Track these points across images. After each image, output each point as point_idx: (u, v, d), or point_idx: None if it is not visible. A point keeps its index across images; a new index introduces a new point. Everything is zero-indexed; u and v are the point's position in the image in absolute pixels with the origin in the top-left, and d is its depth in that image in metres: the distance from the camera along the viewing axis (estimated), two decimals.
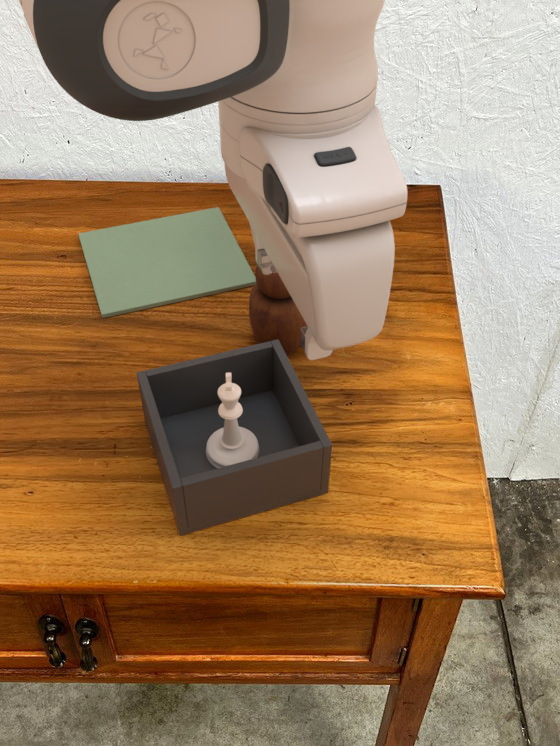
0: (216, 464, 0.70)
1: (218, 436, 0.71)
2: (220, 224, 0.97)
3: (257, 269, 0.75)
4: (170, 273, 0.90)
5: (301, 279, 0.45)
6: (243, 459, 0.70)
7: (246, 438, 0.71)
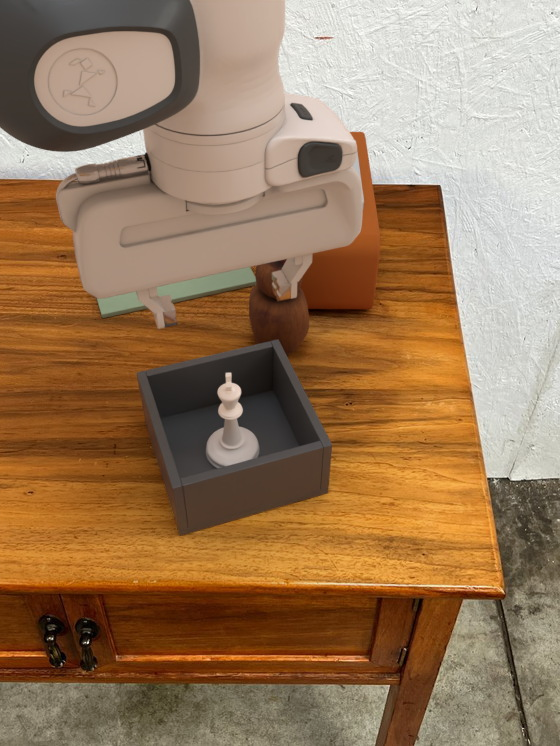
0: (216, 464, 0.70)
1: (218, 436, 0.71)
2: None
3: (257, 269, 0.75)
4: None
5: (313, 221, 0.54)
6: (243, 459, 0.70)
7: (246, 438, 0.71)
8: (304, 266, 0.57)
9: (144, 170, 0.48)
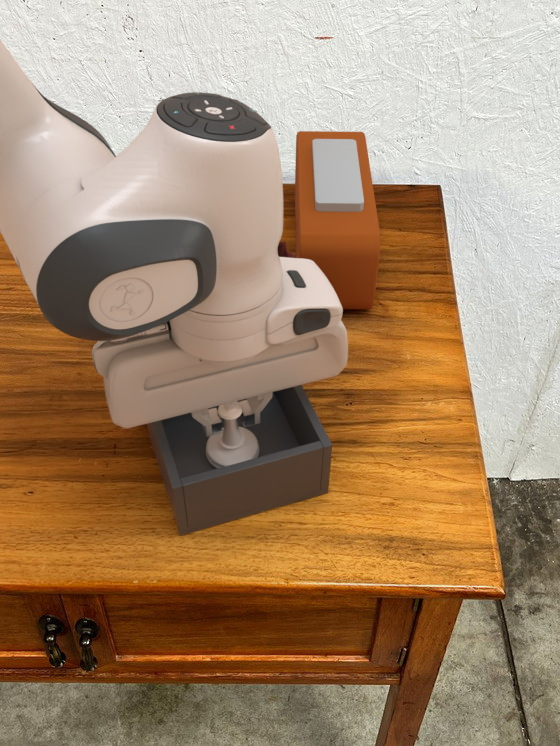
0: (216, 464, 0.70)
1: (218, 436, 0.71)
2: None
3: None
4: None
5: (306, 361, 0.64)
6: (243, 459, 0.70)
7: (246, 438, 0.71)
8: (265, 400, 0.67)
9: (165, 331, 0.58)
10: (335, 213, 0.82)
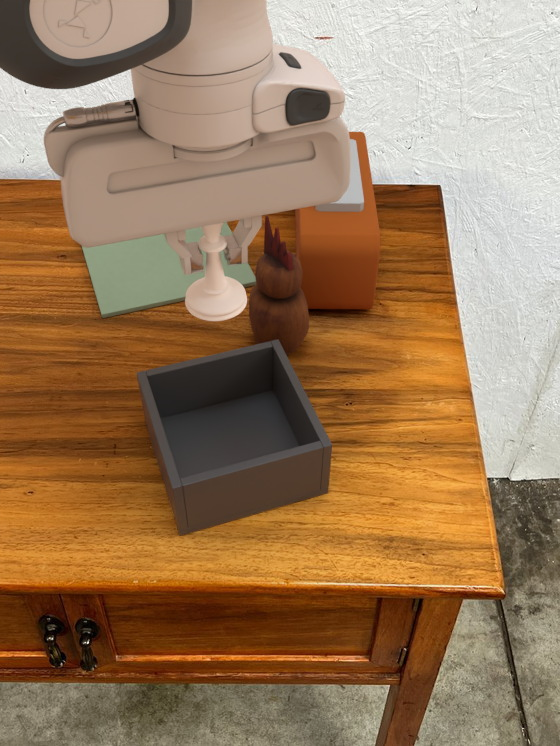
0: (197, 312, 0.60)
1: (199, 284, 0.61)
2: None
3: (257, 269, 0.75)
4: (170, 273, 0.90)
5: (301, 174, 0.54)
6: (228, 306, 0.60)
7: (232, 286, 0.61)
8: (254, 229, 0.57)
9: (132, 115, 0.48)
10: (335, 213, 0.82)
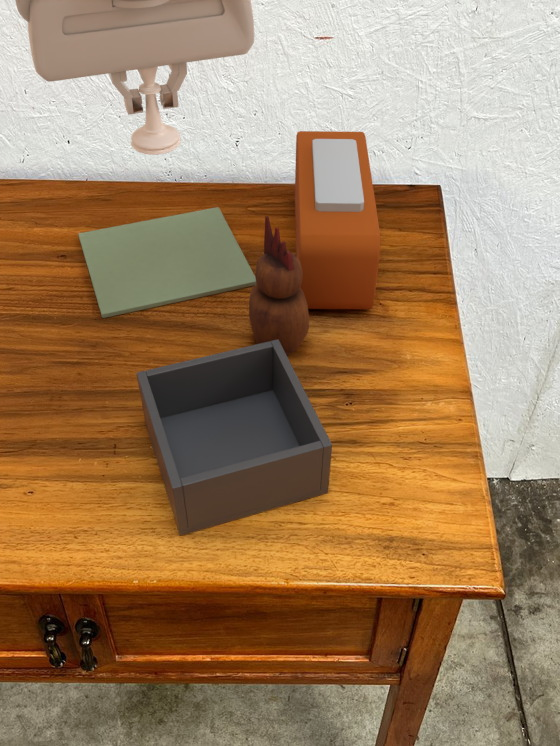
0: (139, 147, 0.76)
1: (142, 128, 0.78)
2: (220, 224, 0.97)
3: (257, 269, 0.75)
4: (170, 273, 0.90)
5: (214, 27, 0.70)
6: (164, 143, 0.76)
7: (168, 129, 0.77)
8: (181, 76, 0.73)
9: None
10: (335, 213, 0.82)
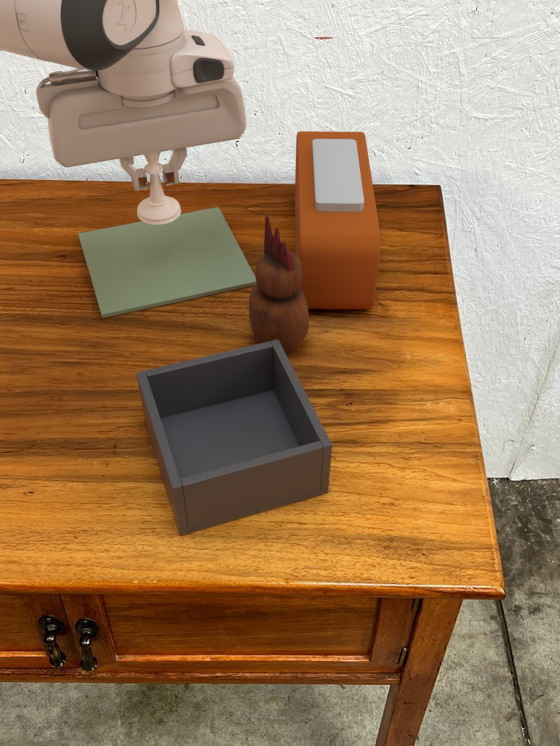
0: (144, 218, 0.86)
1: (147, 200, 0.87)
2: (220, 224, 0.97)
3: (257, 269, 0.75)
4: (170, 273, 0.90)
5: (211, 118, 0.80)
6: (166, 214, 0.86)
7: (170, 201, 0.87)
8: (181, 158, 0.83)
9: (93, 76, 0.74)
10: (335, 213, 0.82)
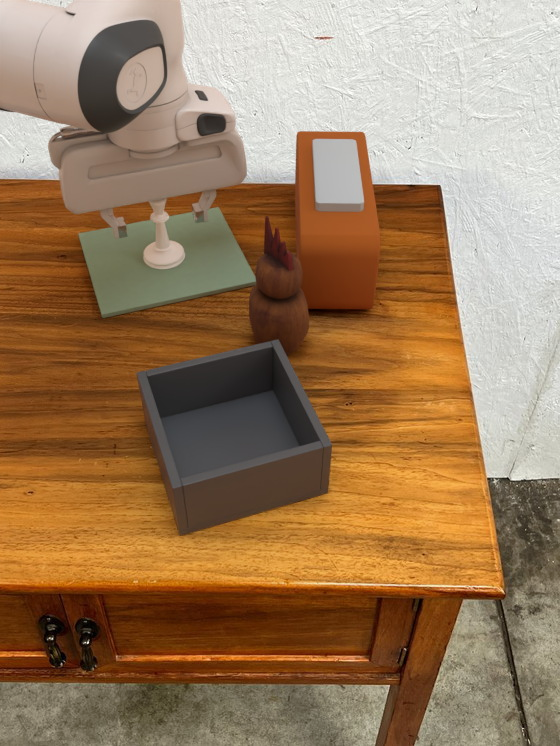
0: (150, 263, 0.90)
1: (153, 245, 0.92)
2: (220, 224, 0.97)
3: (257, 269, 0.75)
4: (170, 273, 0.90)
5: (213, 166, 0.84)
6: (171, 259, 0.90)
7: (174, 246, 0.92)
8: (211, 198, 0.88)
9: None
10: (335, 213, 0.82)
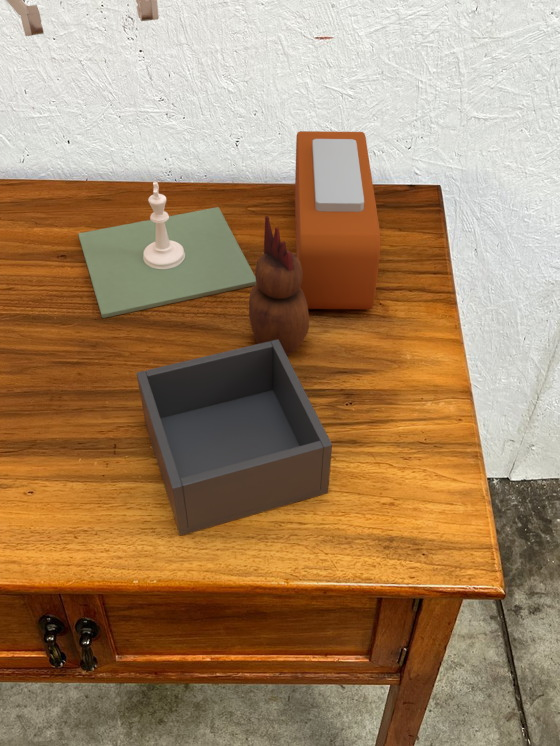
0: (150, 263, 0.90)
1: (153, 245, 0.92)
2: (220, 224, 0.97)
3: (257, 269, 0.75)
4: (170, 273, 0.90)
5: None
6: (171, 259, 0.90)
7: (174, 246, 0.92)
8: None
9: None
10: (335, 213, 0.82)
